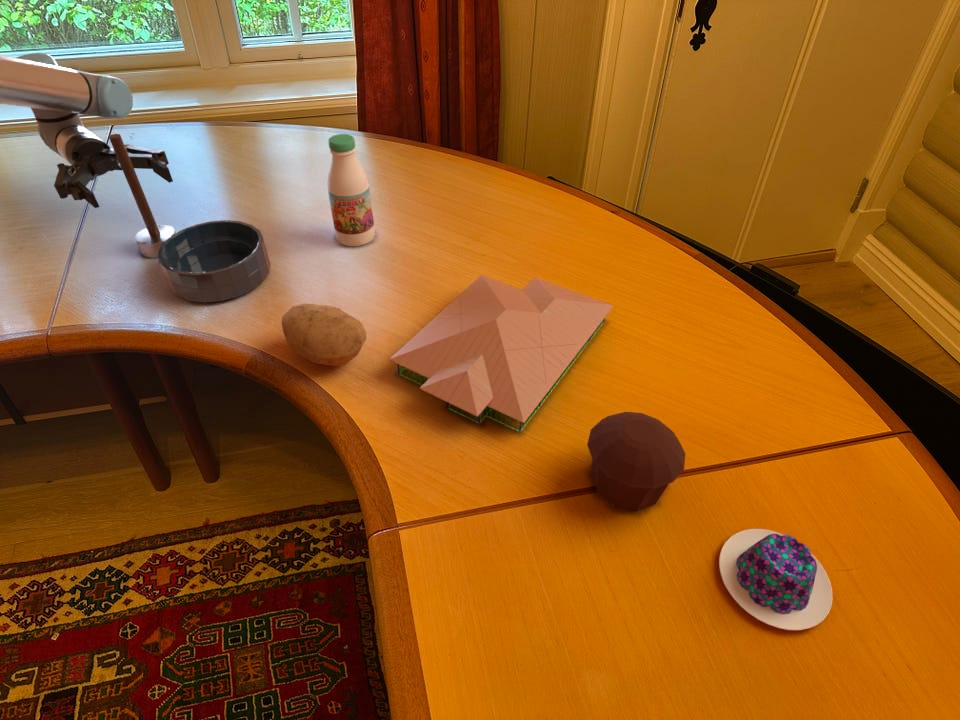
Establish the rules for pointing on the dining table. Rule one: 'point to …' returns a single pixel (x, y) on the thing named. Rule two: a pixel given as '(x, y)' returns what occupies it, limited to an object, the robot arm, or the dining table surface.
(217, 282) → the bowl
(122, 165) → the brown rod with cylinder
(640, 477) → the muffin
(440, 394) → the house
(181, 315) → the dining table surface
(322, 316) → the potato
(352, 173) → the milk bottle
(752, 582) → the pudding
